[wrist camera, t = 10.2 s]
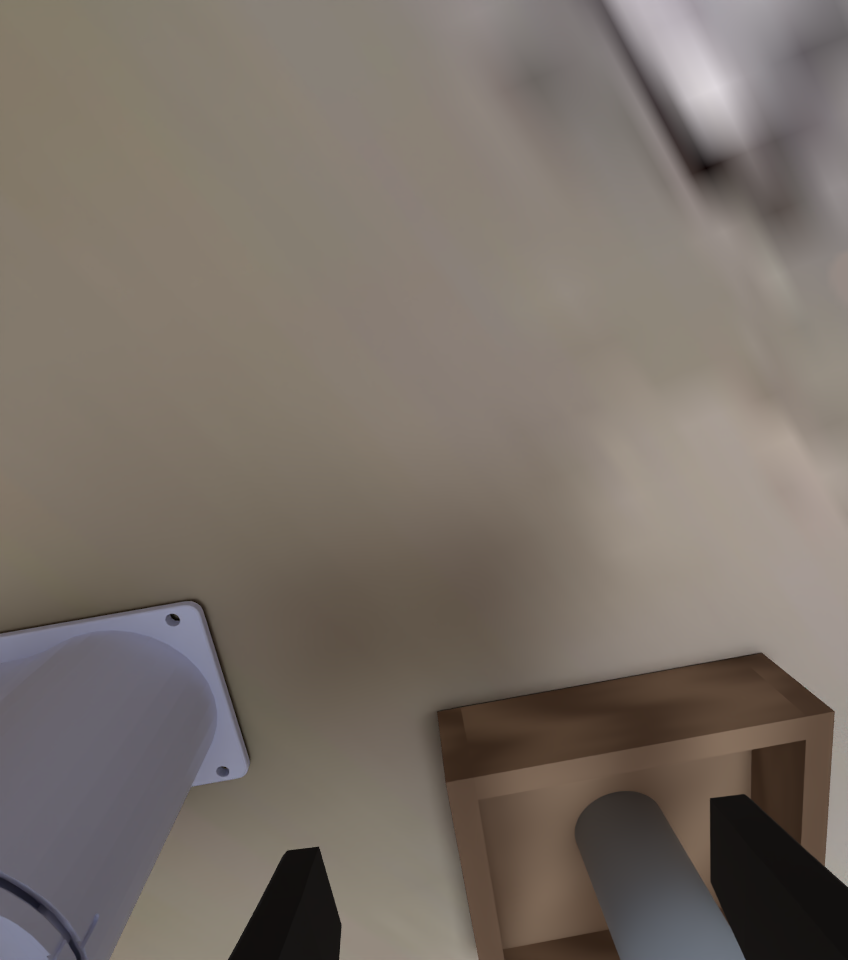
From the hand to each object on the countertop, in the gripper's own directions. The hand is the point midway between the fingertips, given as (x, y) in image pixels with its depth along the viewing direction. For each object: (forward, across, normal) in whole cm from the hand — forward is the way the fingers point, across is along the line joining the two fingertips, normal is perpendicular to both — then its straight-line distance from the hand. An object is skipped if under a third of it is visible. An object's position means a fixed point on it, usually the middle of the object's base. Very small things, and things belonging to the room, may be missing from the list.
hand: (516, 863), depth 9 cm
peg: (+10, -5, +12) cm, 17 cm away
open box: (+11, -5, +12) cm, 17 cm away
